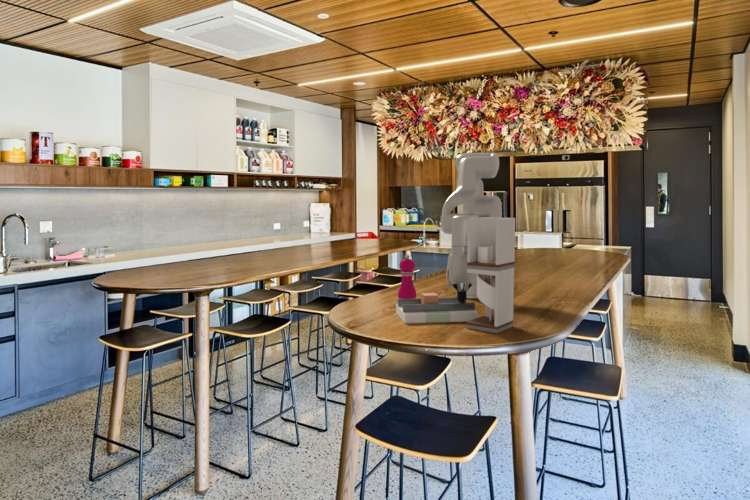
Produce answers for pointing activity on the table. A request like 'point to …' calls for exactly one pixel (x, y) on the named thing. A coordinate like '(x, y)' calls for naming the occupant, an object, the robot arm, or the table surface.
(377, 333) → the table surface
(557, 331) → the table surface
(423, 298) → the terracotta block
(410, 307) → the channel walls
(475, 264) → the display case
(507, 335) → the table surface
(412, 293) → the pepper mill
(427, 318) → the channel deck
